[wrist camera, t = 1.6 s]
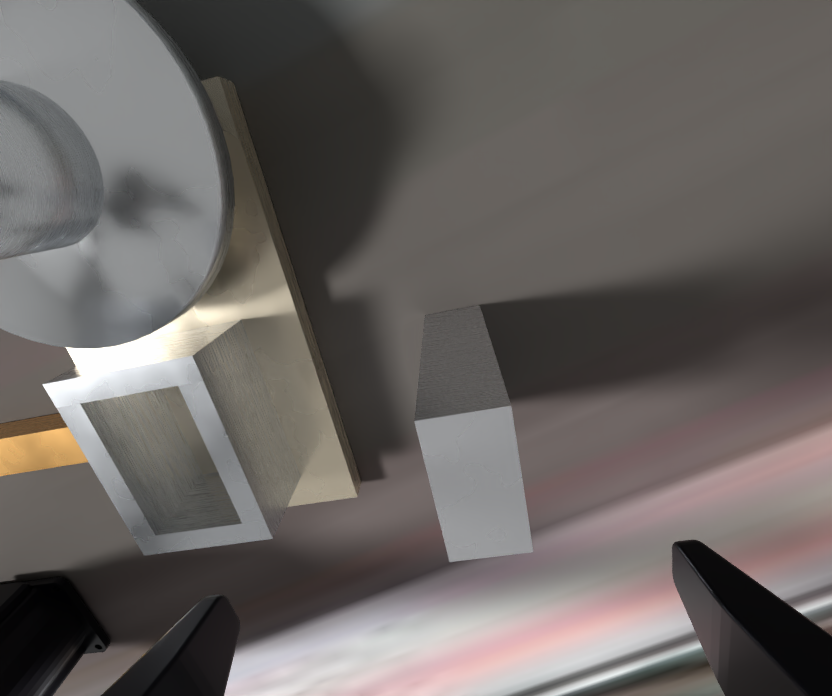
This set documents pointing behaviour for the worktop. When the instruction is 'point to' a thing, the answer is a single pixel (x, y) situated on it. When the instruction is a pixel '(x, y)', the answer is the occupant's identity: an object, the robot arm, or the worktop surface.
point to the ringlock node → (154, 284)
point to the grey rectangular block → (469, 439)
